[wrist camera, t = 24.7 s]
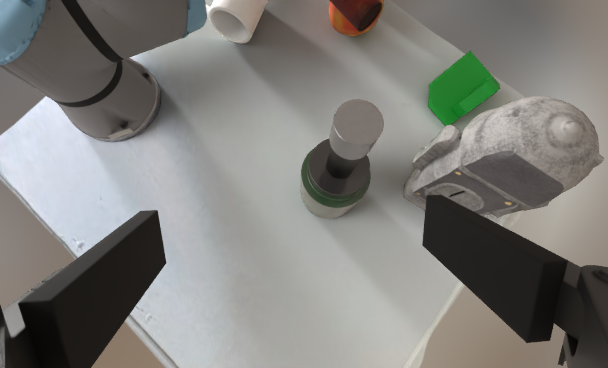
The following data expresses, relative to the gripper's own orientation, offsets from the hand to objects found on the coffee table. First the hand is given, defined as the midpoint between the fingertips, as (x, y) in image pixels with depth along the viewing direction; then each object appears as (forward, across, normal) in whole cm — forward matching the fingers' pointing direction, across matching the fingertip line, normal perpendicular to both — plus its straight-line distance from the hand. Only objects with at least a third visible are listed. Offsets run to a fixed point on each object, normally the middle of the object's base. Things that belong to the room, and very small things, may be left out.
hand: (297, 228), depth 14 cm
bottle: (+33, +7, -8) cm, 34 cm away
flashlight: (+20, +6, -1) cm, 21 cm away
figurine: (+32, +26, -8) cm, 42 cm away
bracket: (+39, +32, +8) cm, 51 cm away
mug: (+51, -8, +23) cm, 56 cm away
